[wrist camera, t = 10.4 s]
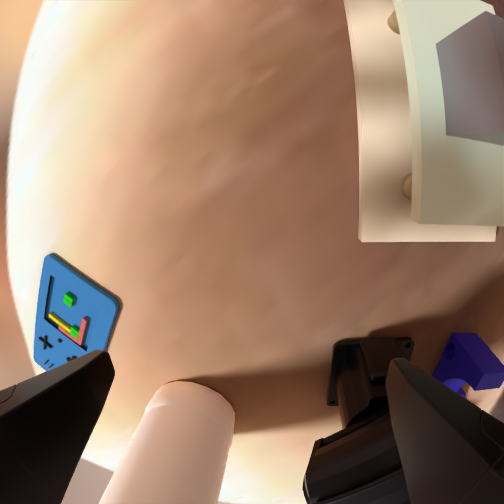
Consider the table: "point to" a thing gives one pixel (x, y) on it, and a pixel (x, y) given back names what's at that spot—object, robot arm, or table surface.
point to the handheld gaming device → (70, 315)
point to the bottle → (176, 449)
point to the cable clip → (469, 364)
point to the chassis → (388, 133)
